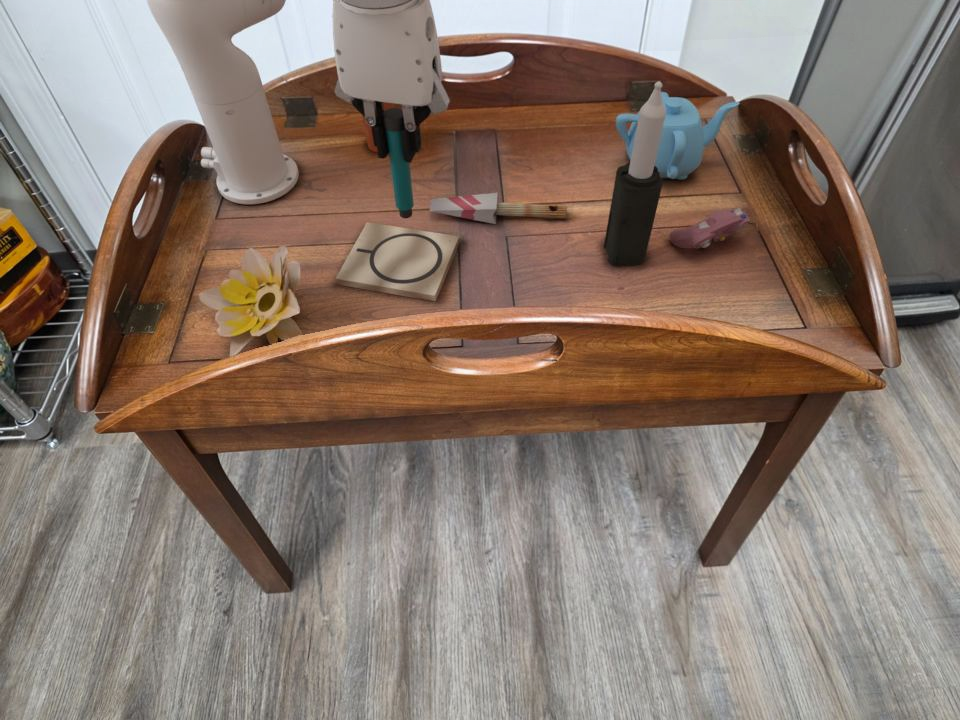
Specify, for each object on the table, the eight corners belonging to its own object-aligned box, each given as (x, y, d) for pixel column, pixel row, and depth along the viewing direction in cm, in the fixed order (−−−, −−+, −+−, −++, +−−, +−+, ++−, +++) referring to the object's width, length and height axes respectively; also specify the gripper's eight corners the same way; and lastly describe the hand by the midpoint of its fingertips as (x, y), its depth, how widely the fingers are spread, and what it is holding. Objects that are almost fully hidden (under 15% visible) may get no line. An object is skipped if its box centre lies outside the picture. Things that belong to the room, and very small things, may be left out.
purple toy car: (679, 264, 91) (704, 243, 84) (664, 236, 92) (688, 213, 85) (733, 241, 94) (762, 220, 87) (718, 214, 94) (746, 191, 88)
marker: (393, 219, 81) (379, 118, 70) (400, 206, 82) (386, 105, 71) (412, 222, 80) (400, 121, 69) (418, 210, 82) (407, 108, 71)
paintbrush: (431, 188, 95) (567, 197, 95) (432, 203, 98) (564, 212, 97) (428, 204, 93) (567, 213, 93) (429, 219, 95) (565, 228, 95)
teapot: (603, 167, 104) (611, 103, 95) (659, 128, 109) (672, 64, 100) (667, 203, 98) (682, 139, 89) (723, 160, 103) (742, 96, 94)
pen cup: (362, 151, 107) (353, 100, 100) (374, 132, 111) (366, 82, 103) (393, 155, 106) (386, 104, 99) (404, 136, 110) (398, 86, 103)
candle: (602, 242, 92) (630, 71, 72) (637, 239, 92) (675, 68, 73) (609, 267, 89) (641, 95, 69) (646, 264, 89) (688, 92, 69)
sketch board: (337, 284, 88) (335, 277, 87) (368, 228, 95) (366, 221, 94) (435, 301, 85) (435, 294, 84) (459, 242, 93) (459, 235, 92)
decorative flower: (195, 286, 86) (186, 226, 78) (281, 274, 90) (281, 218, 83) (217, 372, 78) (210, 316, 70) (311, 355, 83) (313, 300, 75)
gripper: (472, -28, 61) (474, 144, 75) (312, -44, 63) (345, 126, 78) (450, 7, 56) (457, 183, 71) (279, -11, 59) (320, 162, 73)
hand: (398, 152), depth 74 cm, fingers closed on marker, 2 cm apart
